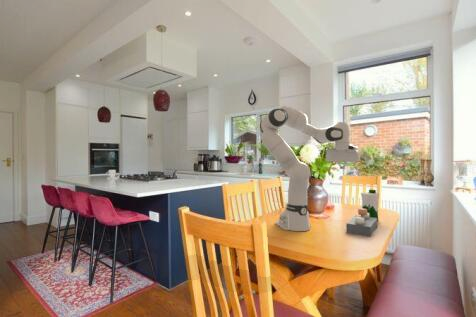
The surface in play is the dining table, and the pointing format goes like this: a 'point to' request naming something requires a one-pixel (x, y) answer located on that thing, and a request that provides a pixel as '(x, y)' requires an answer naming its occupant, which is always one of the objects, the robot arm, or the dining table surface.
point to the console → (362, 226)
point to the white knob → (359, 220)
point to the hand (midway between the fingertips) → (342, 169)
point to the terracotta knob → (362, 212)
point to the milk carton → (370, 203)
